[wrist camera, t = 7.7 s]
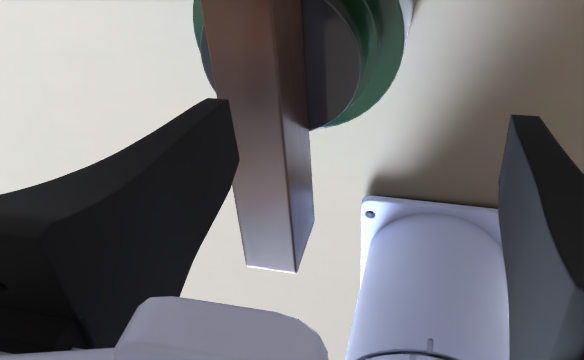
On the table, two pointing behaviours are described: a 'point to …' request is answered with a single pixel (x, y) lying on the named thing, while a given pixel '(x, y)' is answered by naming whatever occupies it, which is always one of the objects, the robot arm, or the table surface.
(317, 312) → the table surface
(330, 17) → the green round jar
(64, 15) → the table surface
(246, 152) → the stick
